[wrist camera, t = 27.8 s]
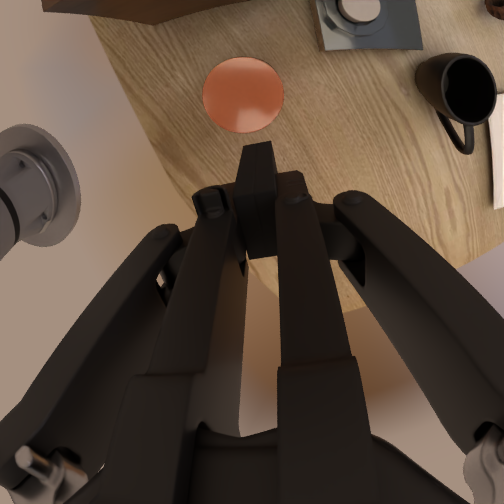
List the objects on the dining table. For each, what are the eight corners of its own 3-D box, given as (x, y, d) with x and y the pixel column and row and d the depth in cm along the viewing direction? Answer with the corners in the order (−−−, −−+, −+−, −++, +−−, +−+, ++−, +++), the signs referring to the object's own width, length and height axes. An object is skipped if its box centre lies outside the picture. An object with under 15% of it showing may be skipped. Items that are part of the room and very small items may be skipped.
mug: (409, 136, 36) (442, 159, 29) (402, 49, 30) (437, 51, 22) (458, 134, 35) (495, 157, 27) (454, 53, 28) (495, 58, 21)
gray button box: (319, 51, 31) (328, 50, 26) (304, -21, 26) (310, -34, 21) (409, 49, 30) (431, 50, 25) (397, -20, 24) (416, -29, 19)
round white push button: (341, 23, 25) (345, 21, 23) (334, -10, 23) (338, -14, 21) (377, 23, 24) (383, 21, 23) (370, -10, 22) (376, -13, 20)
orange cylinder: (228, 116, 37) (212, 140, 27) (216, 64, 33) (194, 66, 23) (283, 106, 36) (290, 126, 26) (273, 53, 32) (275, 50, 22)
